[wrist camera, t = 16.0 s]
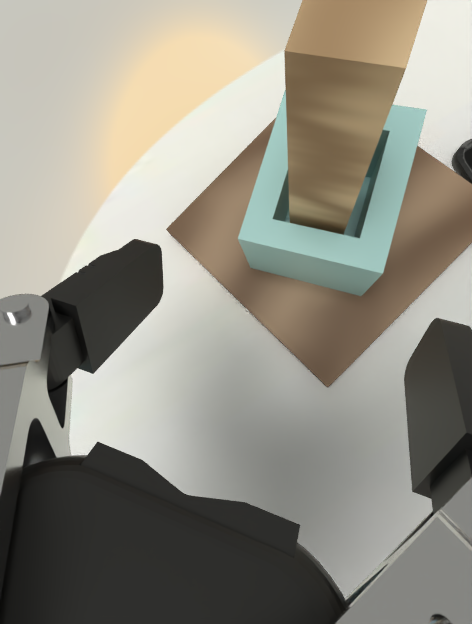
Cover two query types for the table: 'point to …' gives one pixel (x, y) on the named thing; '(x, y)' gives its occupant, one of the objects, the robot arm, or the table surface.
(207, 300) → the table surface
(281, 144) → the teal open box
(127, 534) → the robot arm
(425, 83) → the table surface
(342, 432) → the table surface
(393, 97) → the tall wooden block
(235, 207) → the base plate
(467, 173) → the phone
